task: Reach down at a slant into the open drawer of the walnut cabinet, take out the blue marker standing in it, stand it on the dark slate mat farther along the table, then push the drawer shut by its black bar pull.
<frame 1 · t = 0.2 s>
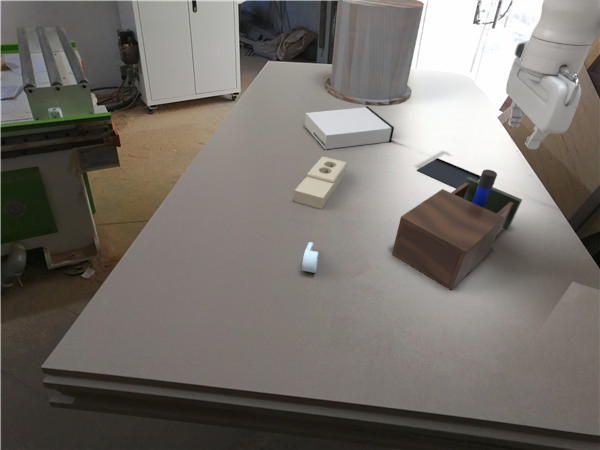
hand: (521, 136, 75), 24 cm above the table, tool pointing down, fingers open, 8 cm apart
storage basket: (367, 90, 165), on the table
cabinet: (440, 254, 84), on the table
disc drive: (346, 134, 129), on the table
mat: (452, 172, 112), on the table
electrical outlet: (321, 188, 103), on the table
drawer: (478, 210, 89), point 5 cm above the table, slide at 10.0 cm, touching marker
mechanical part: (311, 263, 80), on the table
marker: (470, 224, 90), point 2 cm above the table, touching drawer
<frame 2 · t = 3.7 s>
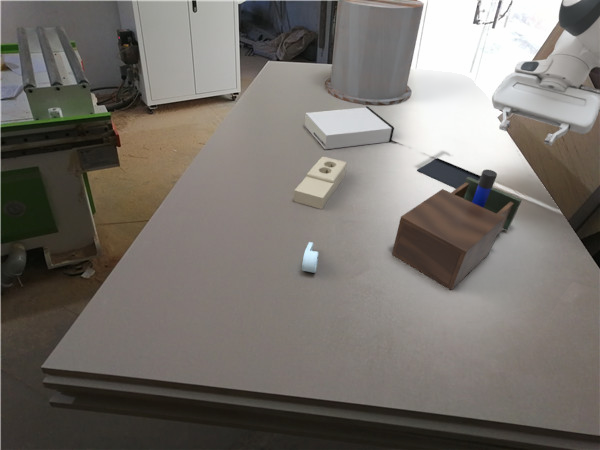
hand: (524, 136, 86), 20 cm above the table, tool tilted 45°, fingers open, 8 cm apart
nothing on the table moved.
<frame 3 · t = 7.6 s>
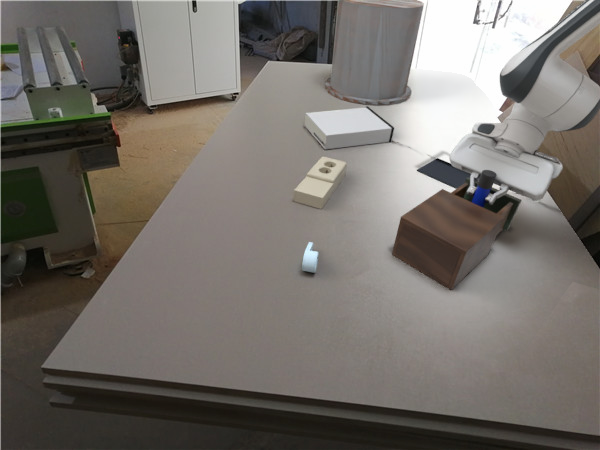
hand: (478, 198, 85), 9 cm above the table, tool tilted 45°, fingers open, 3 cm apart
nothing on the table moved.
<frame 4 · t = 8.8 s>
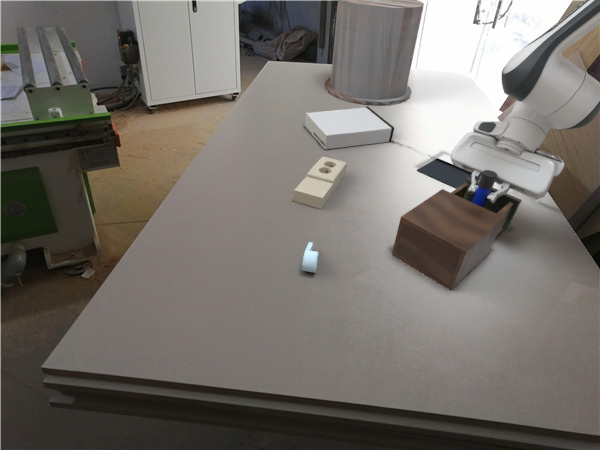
hand: (480, 197, 85), 9 cm above the table, tool tilted 45°, fingers closed on marker, 3 cm apart
marker: (470, 224, 89), point 2 cm above the table, touching drawer, gripper
everything else where it was.
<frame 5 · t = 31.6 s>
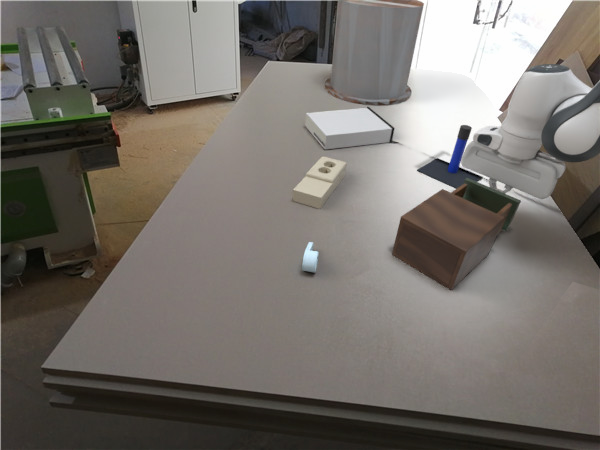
hand: (495, 197, 95), 4 cm above the table, tool pointing down, fingers closed, pressing on drawer
drawer: (476, 211, 89), point 5 cm above the table, slide at 9.3 cm, touching gripper
marker: (452, 171, 112), resting on mat
everything else where it was.
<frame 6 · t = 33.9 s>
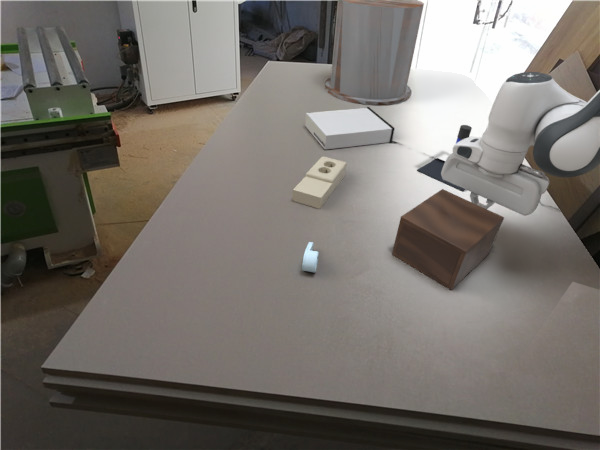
hand: (477, 211, 90), 4 cm above the table, tool pointing down, fingers closed, pressing on drawer
drawer: (456, 228, 83), point 5 cm above the table, slide at 0.2 cm, touching gripper
everything else where it was.
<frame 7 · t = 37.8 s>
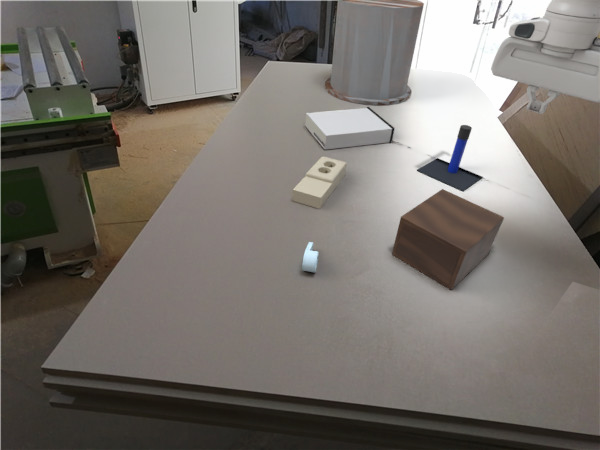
hand: (534, 111, 77), 27 cm above the table, tool pointing down, fingers closed
drawer: (456, 228, 83), point 5 cm above the table, slide at 0.0 cm
everything else where it was.
at the end: marker inside the target area on the mat (0.1 cm from its centre), point 0.4 cm above the mat's base; the gripper is holding nothing; drawer slide at 0.0 cm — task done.
